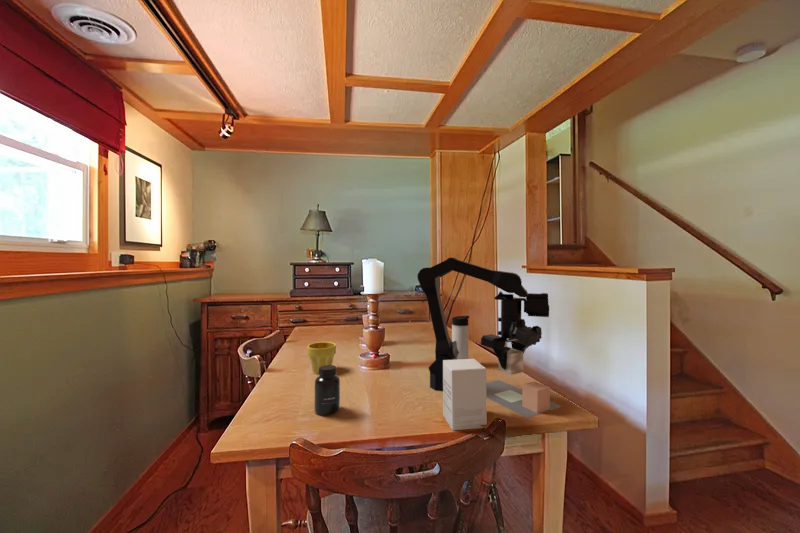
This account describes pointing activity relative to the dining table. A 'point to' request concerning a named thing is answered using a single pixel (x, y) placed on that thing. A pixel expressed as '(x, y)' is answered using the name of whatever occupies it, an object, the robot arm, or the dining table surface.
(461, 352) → the travel mug
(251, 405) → the dining table surface
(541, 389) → the terracotta block
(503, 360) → the robot arm
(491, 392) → the build board
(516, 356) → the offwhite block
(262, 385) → the dining table surface
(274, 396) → the dining table surface
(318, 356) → the plant pot
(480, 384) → the supplement box
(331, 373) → the supplement bottle
